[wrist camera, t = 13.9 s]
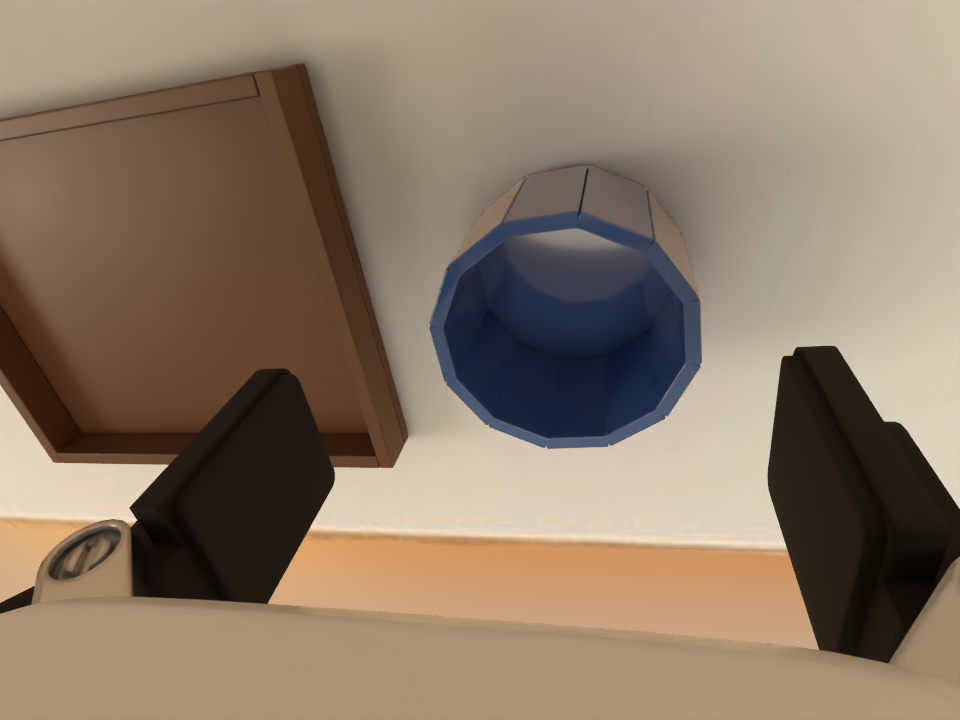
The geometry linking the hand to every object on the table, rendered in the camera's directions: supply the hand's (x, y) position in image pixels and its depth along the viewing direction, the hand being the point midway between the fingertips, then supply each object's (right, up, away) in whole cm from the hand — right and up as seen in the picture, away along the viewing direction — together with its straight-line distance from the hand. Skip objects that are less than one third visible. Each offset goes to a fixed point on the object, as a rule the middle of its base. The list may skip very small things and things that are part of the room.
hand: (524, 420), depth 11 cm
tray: (-13, +4, +12) cm, 18 cm away
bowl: (+2, +4, +8) cm, 9 cm away
